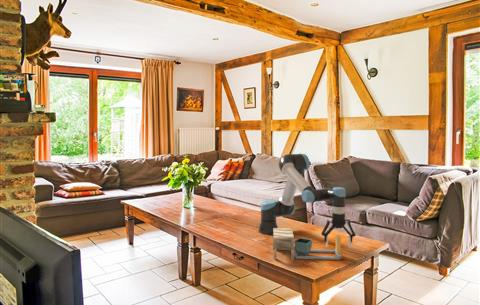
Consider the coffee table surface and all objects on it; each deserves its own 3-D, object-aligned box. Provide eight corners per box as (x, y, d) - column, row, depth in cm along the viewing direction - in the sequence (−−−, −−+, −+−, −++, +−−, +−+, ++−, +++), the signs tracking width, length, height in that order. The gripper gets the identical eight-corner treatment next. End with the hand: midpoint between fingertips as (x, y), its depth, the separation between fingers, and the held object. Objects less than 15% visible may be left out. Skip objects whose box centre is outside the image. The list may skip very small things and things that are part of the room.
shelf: (273, 249, 234) (273, 228, 233) (291, 249, 233) (291, 228, 232) (273, 259, 215) (273, 237, 214) (293, 260, 214) (294, 237, 213)
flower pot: (293, 255, 222) (293, 241, 222) (299, 251, 230) (299, 237, 229) (307, 258, 218) (307, 243, 217) (312, 253, 225) (312, 239, 224)
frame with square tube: (292, 250, 230) (292, 232, 229) (337, 252, 228) (337, 233, 227) (293, 258, 216) (294, 238, 216) (341, 259, 214) (342, 240, 213)
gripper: (318, 214, 216) (318, 248, 218) (361, 214, 214) (360, 249, 216) (317, 211, 224) (316, 244, 225) (358, 211, 222) (357, 245, 223)
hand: (338, 247), depth 221 cm, fingers open, 13 cm apart
